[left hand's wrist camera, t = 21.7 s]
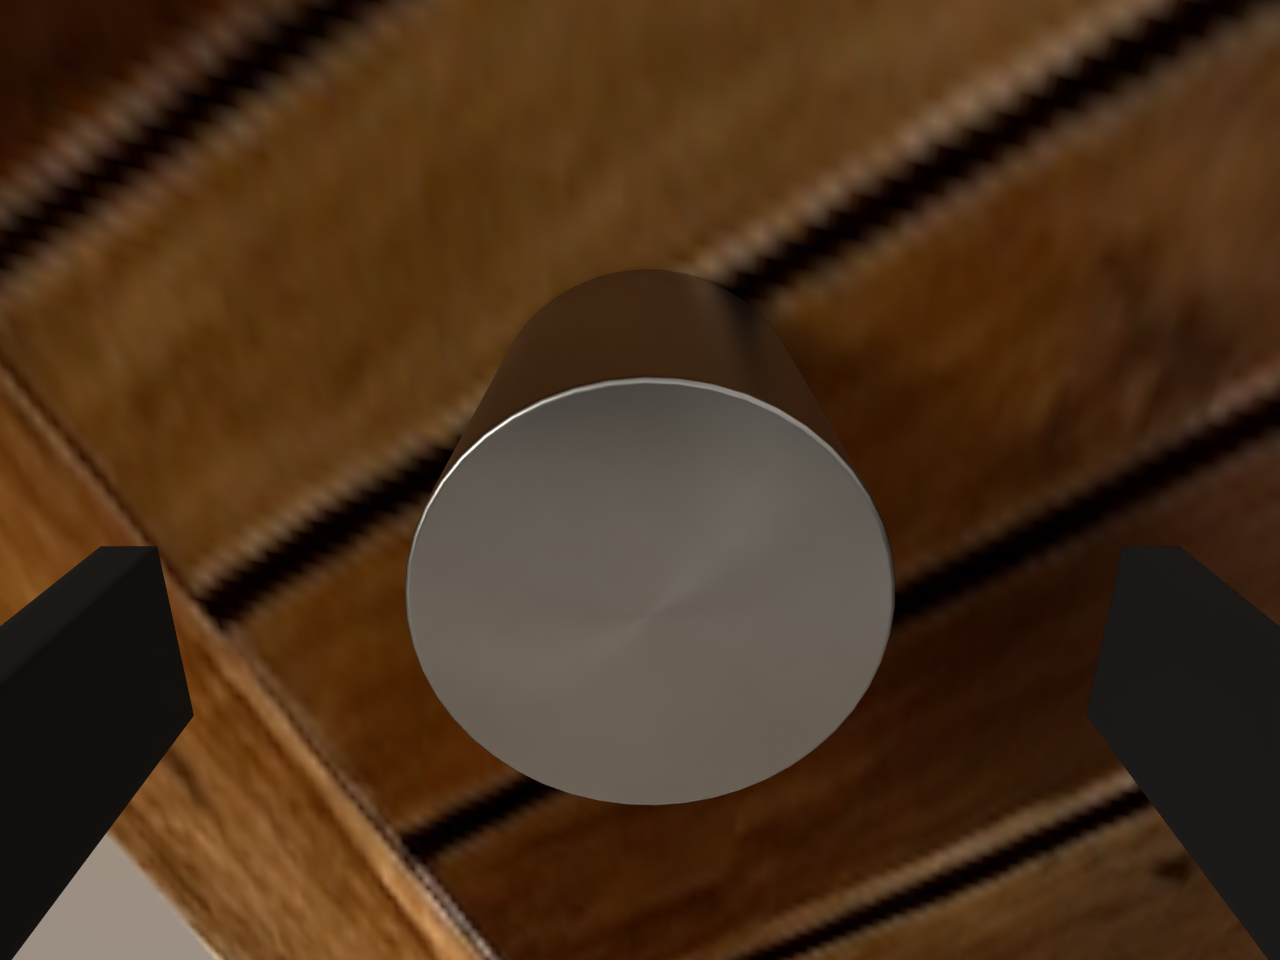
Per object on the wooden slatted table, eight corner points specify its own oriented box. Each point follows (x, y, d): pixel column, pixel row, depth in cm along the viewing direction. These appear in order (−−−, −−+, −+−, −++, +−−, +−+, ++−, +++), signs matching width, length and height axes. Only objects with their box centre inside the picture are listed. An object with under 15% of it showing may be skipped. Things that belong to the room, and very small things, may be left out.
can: (641, 196, 18) (640, 262, 11) (867, 420, 20) (999, 606, 12) (428, 431, 20) (304, 622, 13) (652, 616, 22) (657, 877, 14)
